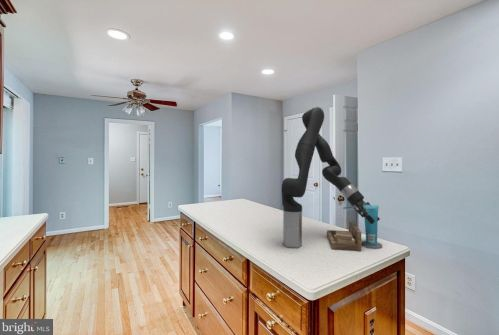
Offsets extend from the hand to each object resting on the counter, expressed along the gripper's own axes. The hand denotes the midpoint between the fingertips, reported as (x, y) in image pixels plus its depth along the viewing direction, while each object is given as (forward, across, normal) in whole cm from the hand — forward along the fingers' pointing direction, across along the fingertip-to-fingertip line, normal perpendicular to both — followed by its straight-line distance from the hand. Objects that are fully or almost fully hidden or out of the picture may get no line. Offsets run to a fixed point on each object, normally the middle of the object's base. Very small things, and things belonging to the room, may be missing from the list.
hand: (375, 221), depth 122 cm
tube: (+7, 0, +10) cm, 12 cm away
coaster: (+7, 0, +10) cm, 12 cm away
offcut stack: (+1, -10, +17) cm, 19 cm away
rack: (-1, -6, +18) cm, 19 cm away
